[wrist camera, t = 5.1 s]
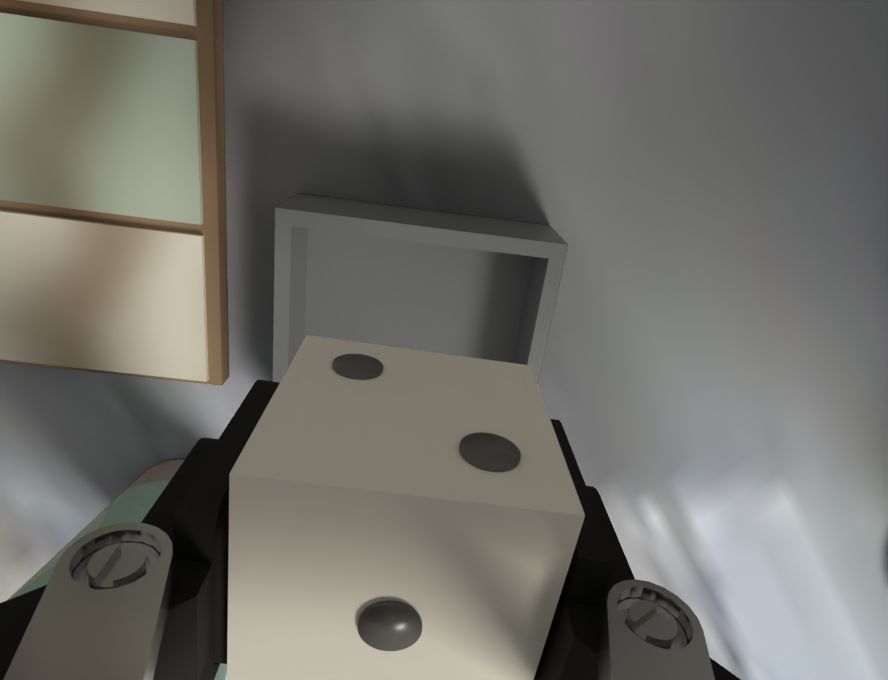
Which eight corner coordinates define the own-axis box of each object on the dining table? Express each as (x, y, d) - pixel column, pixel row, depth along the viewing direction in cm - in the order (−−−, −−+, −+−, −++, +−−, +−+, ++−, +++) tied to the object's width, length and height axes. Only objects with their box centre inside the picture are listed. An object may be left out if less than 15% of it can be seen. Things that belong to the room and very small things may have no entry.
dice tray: (550, 225, 20) (567, 244, 18) (507, 438, 24) (516, 483, 21) (298, 193, 20) (275, 207, 17) (291, 415, 23) (271, 457, 20)
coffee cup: (131, 397, 23) (-159, 674, 12) (325, 480, 24) (231, 791, 13) (75, 543, 26) (-200, 877, 15) (253, 609, 27) (126, 953, 16)
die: (531, 362, 11) (588, 515, 7) (489, 539, 13) (515, 744, 9) (303, 330, 11) (221, 471, 7) (291, 516, 13) (219, 719, 9)
